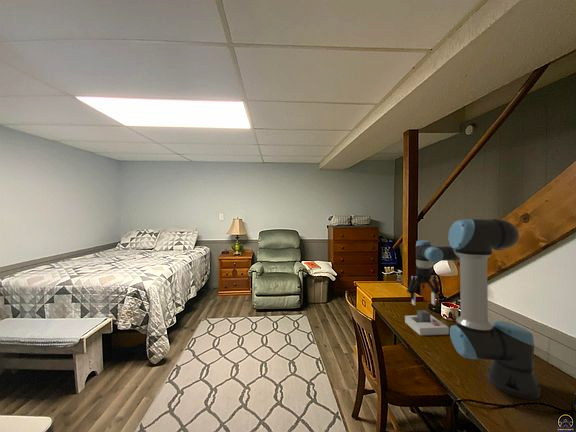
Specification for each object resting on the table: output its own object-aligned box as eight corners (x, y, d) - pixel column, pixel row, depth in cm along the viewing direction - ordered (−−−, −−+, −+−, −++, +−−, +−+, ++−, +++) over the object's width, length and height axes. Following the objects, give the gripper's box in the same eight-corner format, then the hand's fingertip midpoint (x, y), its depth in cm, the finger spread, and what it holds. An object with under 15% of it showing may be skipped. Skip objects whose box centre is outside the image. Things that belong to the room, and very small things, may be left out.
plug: (430, 327, 143) (430, 313, 142) (421, 327, 142) (421, 313, 142) (425, 323, 148) (425, 310, 147) (417, 323, 147) (417, 310, 147)
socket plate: (448, 334, 135) (448, 326, 135) (420, 335, 135) (419, 327, 135) (430, 321, 151) (430, 313, 151) (405, 322, 151) (404, 314, 151)
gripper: (438, 265, 148) (439, 301, 149) (400, 266, 148) (400, 302, 148) (447, 268, 141) (447, 306, 141) (406, 269, 140) (407, 307, 141)
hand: (423, 304), depth 145 cm, fingers open, 11 cm apart
